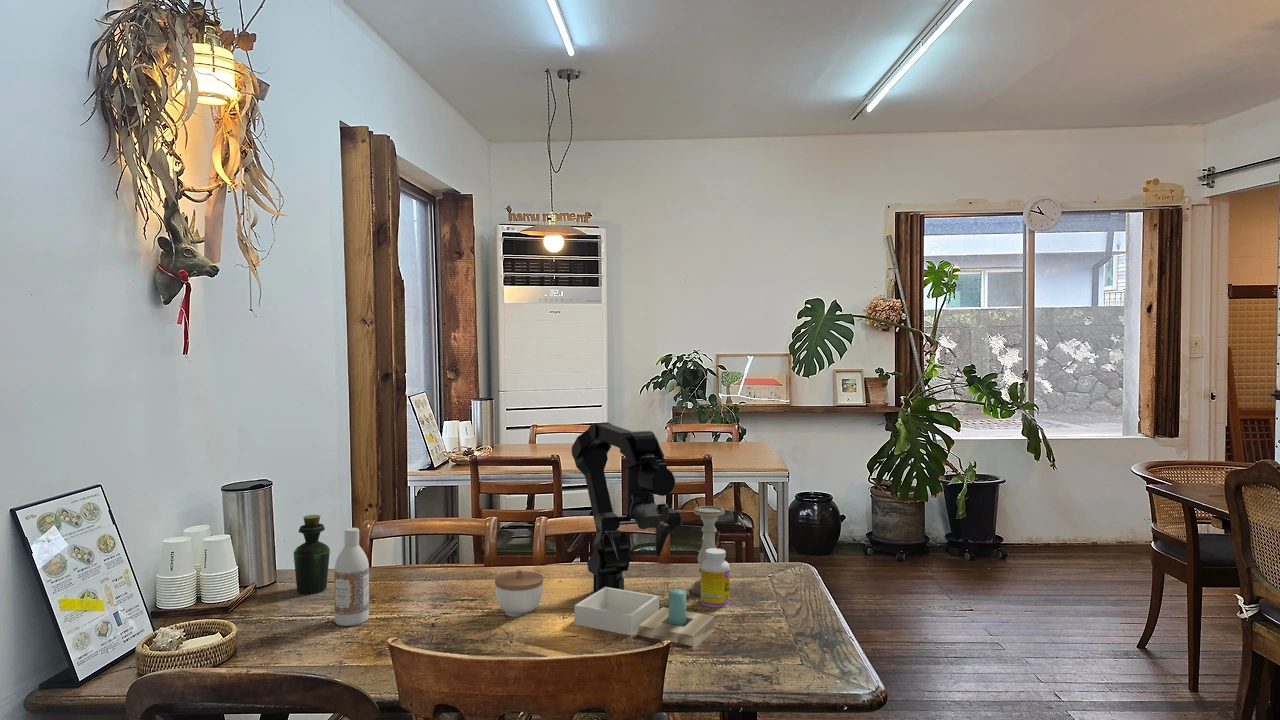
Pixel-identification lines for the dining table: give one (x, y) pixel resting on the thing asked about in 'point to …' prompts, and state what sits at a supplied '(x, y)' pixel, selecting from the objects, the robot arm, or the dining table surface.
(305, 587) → the potion bottle
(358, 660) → the dining table surface
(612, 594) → the open box
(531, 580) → the lidded jar
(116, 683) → the dining table surface
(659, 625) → the bore plate
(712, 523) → the candle holder
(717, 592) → the supplement bottle
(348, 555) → the bath foam
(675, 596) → the peg
